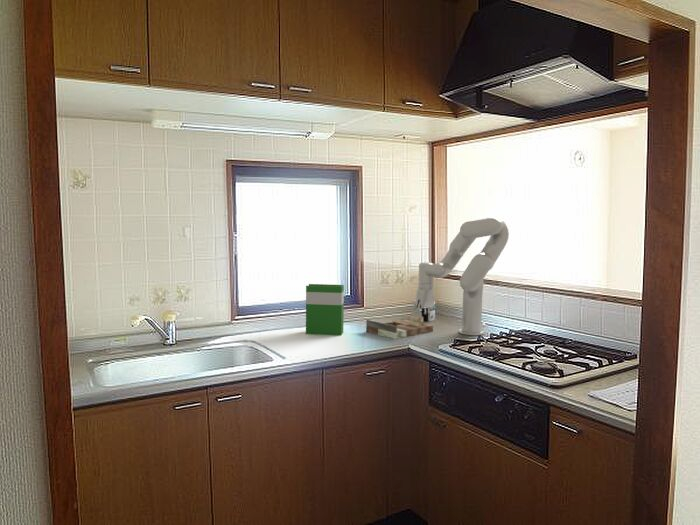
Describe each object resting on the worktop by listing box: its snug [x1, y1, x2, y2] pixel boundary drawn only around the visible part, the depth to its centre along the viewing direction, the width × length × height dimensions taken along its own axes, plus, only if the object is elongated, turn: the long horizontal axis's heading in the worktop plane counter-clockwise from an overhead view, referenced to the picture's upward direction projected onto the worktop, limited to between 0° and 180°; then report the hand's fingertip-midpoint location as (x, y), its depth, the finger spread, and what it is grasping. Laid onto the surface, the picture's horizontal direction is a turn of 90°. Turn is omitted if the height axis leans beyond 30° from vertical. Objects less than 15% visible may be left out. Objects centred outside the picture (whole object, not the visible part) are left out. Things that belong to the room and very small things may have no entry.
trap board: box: [365, 319, 434, 340], centre depth 264 cm, size 28×20×6 cm
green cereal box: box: [305, 283, 345, 336], centre depth 258 cm, size 18×7×24 cm, turn 83°
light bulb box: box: [413, 300, 436, 322], centre depth 296 cm, size 11×7×11 cm, turn 58°
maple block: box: [408, 315, 424, 326], centre depth 268 cm, size 5×5×4 cm
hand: (424, 320), depth 273 cm, fingers closed
